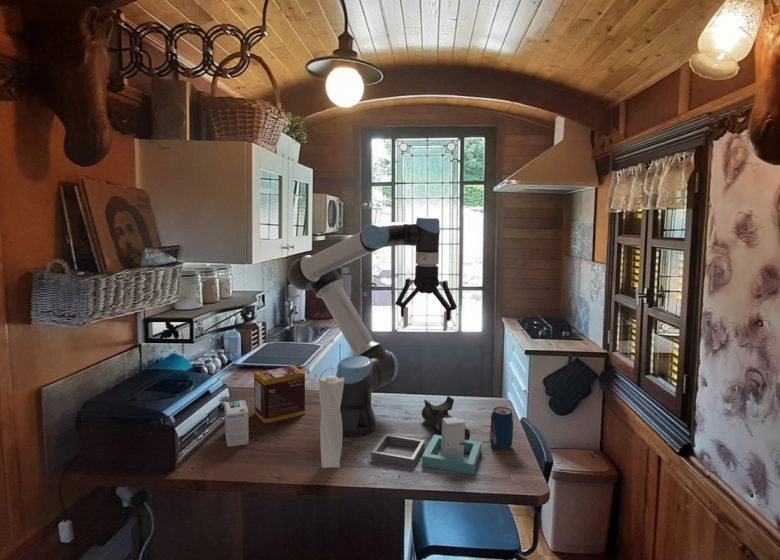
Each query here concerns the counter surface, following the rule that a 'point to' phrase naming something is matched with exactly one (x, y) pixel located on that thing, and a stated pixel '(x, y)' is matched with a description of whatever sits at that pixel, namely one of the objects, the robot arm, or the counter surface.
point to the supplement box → (279, 393)
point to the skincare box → (453, 437)
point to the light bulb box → (236, 423)
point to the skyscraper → (330, 419)
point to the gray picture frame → (398, 459)
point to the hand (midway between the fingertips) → (425, 328)
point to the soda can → (501, 428)
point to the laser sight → (439, 414)
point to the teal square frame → (448, 462)
